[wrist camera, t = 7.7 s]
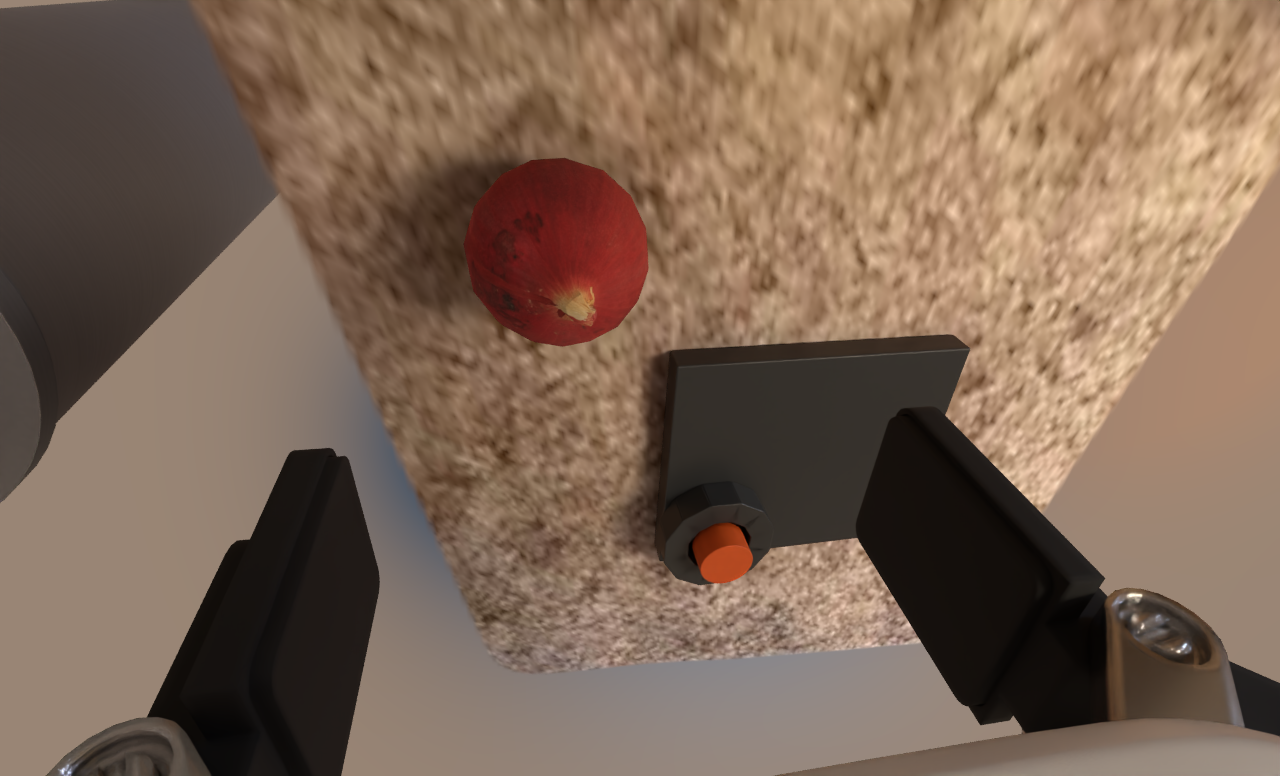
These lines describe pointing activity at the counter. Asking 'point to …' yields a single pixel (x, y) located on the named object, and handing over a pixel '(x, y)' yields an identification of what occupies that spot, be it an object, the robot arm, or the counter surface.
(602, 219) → the onion
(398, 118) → the counter surface
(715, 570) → the power button
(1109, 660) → the robot arm
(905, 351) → the scale
